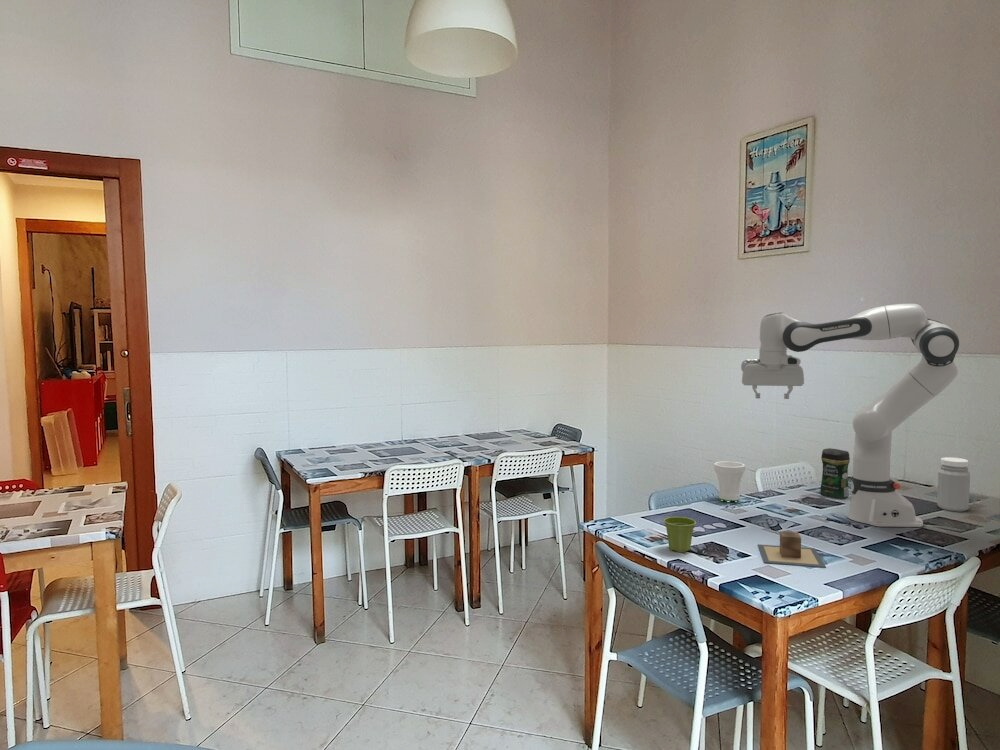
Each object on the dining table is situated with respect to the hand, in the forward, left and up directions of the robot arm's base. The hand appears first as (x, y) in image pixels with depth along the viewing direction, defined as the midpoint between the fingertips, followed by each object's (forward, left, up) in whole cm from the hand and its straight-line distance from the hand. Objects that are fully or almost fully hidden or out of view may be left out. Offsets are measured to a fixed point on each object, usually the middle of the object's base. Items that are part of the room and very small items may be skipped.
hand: (772, 398), depth 235 cm
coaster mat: (0, +46, -41) cm, 62 cm away
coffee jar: (-27, -31, -41) cm, 58 cm away
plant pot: (+31, +47, -41) cm, 70 cm away
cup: (+13, -15, -41) cm, 46 cm away
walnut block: (0, +46, -41) cm, 61 cm away
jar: (-64, -21, -41) cm, 79 cm away
